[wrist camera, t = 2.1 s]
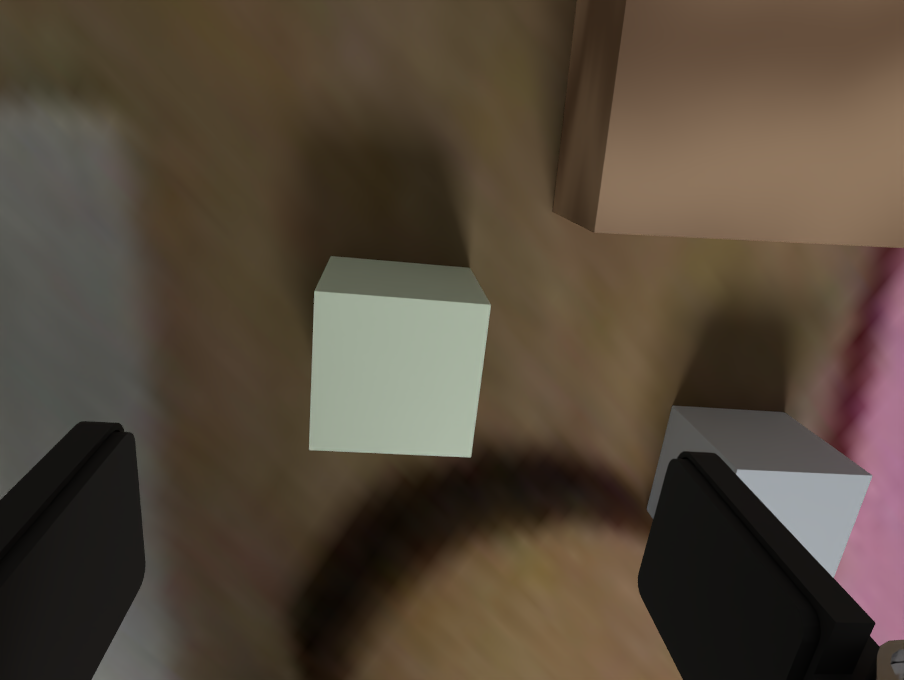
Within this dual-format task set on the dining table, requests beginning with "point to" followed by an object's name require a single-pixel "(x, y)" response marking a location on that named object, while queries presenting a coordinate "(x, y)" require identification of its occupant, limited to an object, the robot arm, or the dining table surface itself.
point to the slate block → (775, 471)
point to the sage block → (396, 358)
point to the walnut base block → (736, 120)
